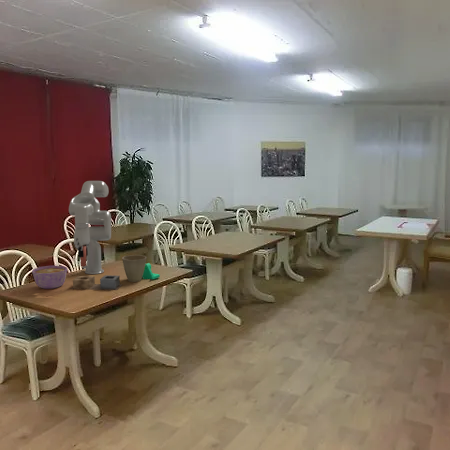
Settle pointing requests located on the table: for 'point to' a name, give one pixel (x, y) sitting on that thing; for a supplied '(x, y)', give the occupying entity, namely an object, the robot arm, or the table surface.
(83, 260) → the pin
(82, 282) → the mount
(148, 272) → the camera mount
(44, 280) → the bowl of food
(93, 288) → the board
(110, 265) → the table surface
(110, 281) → the socket
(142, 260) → the plant pot
